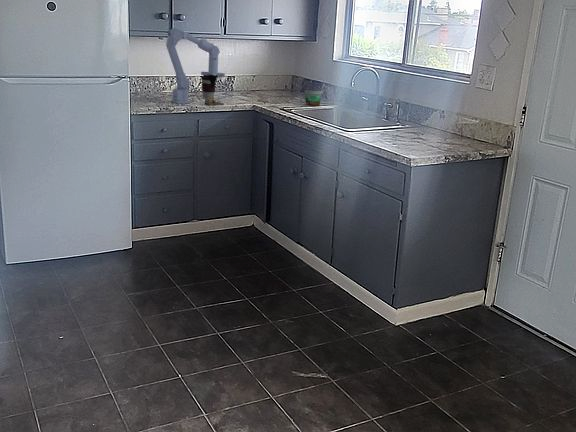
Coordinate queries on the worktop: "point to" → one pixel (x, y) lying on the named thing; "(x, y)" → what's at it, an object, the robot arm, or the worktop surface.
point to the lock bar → (211, 99)
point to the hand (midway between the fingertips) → (212, 87)
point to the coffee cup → (207, 87)
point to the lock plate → (212, 103)
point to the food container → (313, 97)
